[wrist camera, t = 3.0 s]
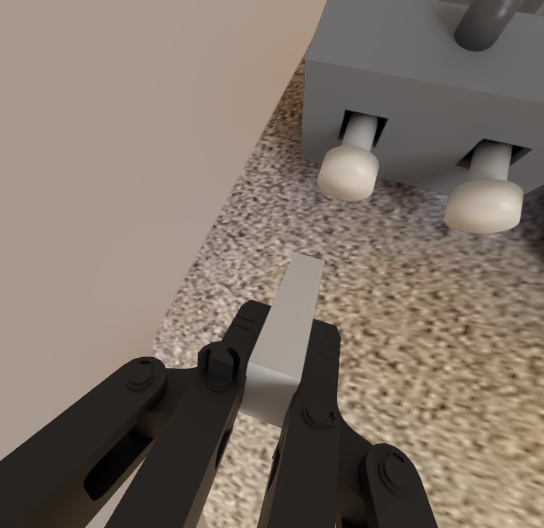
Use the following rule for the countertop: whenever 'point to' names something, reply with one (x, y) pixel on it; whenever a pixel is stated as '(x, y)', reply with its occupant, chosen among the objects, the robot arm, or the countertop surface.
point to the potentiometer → (484, 23)
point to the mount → (425, 90)
